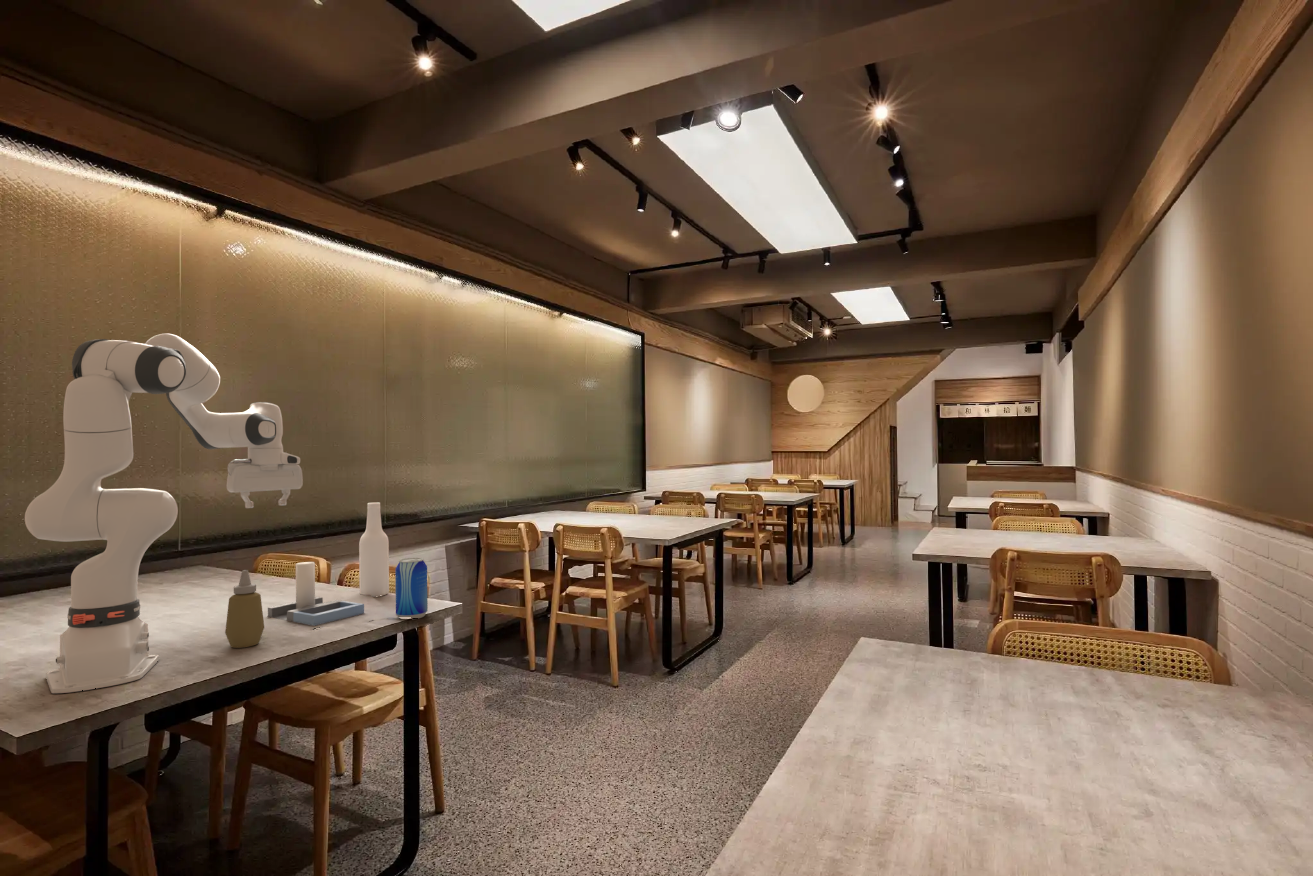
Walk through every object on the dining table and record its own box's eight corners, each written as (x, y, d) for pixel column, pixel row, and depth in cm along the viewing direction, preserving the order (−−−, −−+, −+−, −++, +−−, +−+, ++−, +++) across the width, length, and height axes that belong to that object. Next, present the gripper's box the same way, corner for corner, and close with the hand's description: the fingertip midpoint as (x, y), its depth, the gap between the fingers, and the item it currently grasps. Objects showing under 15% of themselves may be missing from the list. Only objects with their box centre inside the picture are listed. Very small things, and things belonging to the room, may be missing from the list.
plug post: (316, 613, 187) (316, 563, 187) (297, 615, 184) (296, 565, 184) (313, 609, 190) (313, 561, 191) (294, 612, 188) (294, 563, 188)
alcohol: (374, 598, 208) (373, 504, 209) (353, 597, 212) (352, 503, 212) (394, 593, 217) (394, 501, 217) (374, 591, 220) (373, 501, 220)
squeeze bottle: (271, 643, 161) (270, 569, 161) (235, 652, 154) (235, 574, 154) (254, 638, 165) (253, 566, 165) (218, 646, 158) (218, 571, 159)
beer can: (421, 620, 181) (420, 562, 181) (390, 620, 181) (390, 562, 181) (431, 612, 189) (431, 557, 190) (402, 613, 189) (402, 557, 190)
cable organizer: (365, 616, 186) (365, 604, 186) (314, 629, 173) (314, 616, 173) (317, 608, 197) (317, 596, 197) (266, 619, 184) (266, 607, 184)
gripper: (234, 459, 180) (234, 509, 180) (305, 458, 198) (306, 504, 197) (221, 459, 183) (222, 509, 183) (293, 458, 201) (293, 504, 201)
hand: (266, 506), depth 190 cm, fingers open, 8 cm apart
